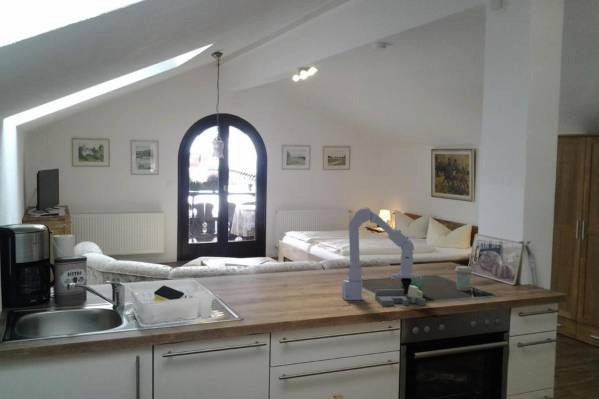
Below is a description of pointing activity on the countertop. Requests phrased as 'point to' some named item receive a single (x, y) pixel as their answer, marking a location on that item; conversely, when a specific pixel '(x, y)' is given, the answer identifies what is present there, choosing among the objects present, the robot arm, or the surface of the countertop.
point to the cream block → (412, 291)
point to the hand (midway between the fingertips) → (405, 294)
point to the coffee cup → (463, 277)
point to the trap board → (397, 297)
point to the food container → (416, 283)
